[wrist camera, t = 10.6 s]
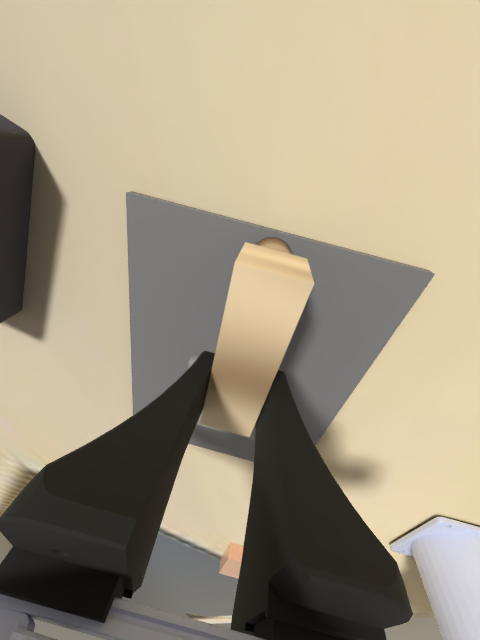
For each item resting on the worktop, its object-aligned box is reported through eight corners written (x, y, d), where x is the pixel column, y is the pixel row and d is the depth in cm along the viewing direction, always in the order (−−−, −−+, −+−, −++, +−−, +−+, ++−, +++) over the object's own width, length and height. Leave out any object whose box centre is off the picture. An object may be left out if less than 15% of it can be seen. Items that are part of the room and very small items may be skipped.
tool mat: (428, 270, 11) (434, 274, 11) (295, 466, 21) (295, 472, 20) (132, 191, 11) (126, 192, 11) (136, 423, 21) (133, 428, 20)
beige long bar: (212, 220, 11) (175, 246, 7) (342, 255, 11) (374, 299, 7) (183, 413, 18) (158, 474, 15) (260, 434, 18) (255, 501, 15)
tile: (282, 573, 31) (266, 586, 34) (282, 552, 32) (267, 567, 36) (228, 558, 31) (218, 573, 34) (231, 538, 32) (221, 554, 36)
